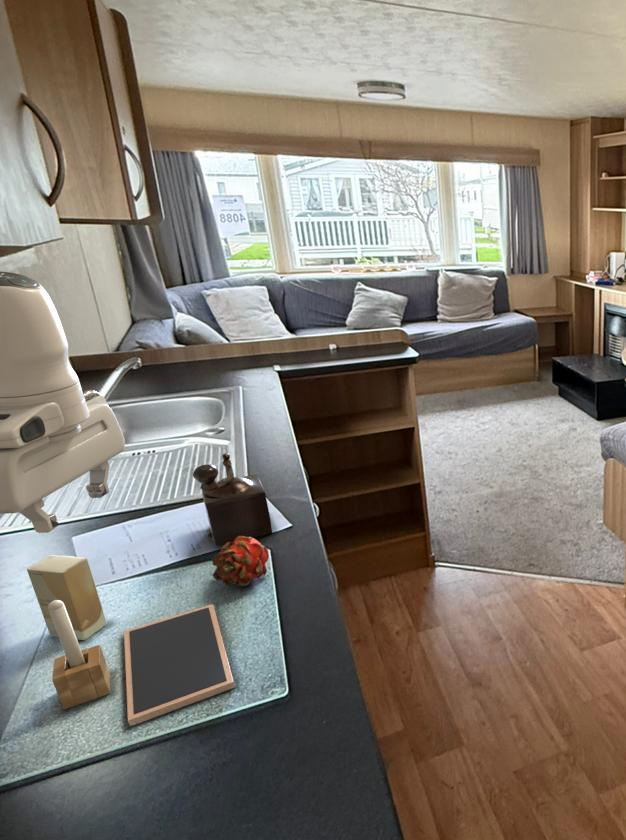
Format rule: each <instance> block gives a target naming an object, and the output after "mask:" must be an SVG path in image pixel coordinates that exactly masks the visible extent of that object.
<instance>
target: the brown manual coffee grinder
mask: <svg viewBox="0 0 626 840" xmlns="http://www.w3.org/2000/svg"><path fill="white" fill-rule="evenodd" d="M221 457H222V460H223V461H222V465H223V466H224V467H225V473H226V477H224V478H221V479H219V480H218V481H216V479H217V477H218V475H219V470H218V468H217V467H216V466H215V465H214V464H208V463H207V464H201V465H199V466H198V467H196V468H194V471H193V472H192V477H193V479H194V480H196V481H197V482H199V483H200V487H199V489H200V490H201V495H202V499H203V504H204V508H205V511H206V516H207V521H208V524H209V530H207V531H206V533H207V536H208V538H210V540H211V541H212V544H213V545H214V546H215V547H216V548H219V547H223V546H224V545H225V544H226V543H227V542H234V541H235V539H236V538H237V537H238V536H245V537H251V538H254V539H255V540H256V539H259V538H262V537H265V536H269V535H271V534H273V527H272V521H271V516H270V515H271V514H270V510H269V504H268V500H267V496H266V495H267V494H266V492H265V488H264V486H263V484H262V481H261V480H260V478H259V477H258V474H251V475H246V476H240V477H239V476H235V475H234V474H235V473H234V470H233V469H234V468H233V466H232V464H233V463H232V460H231V455H230V454H229V453H226V452H225V453H223V454H222V456H221Z"/></svg>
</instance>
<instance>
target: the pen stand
mask: <svg viewBox="0 0 626 840" xmlns="http://www.w3.org/2000/svg"><path fill="white" fill-rule="evenodd" d="M81 651H82V654H83V657H84V660H85V662H86V664H83V665H80V666H77V667H74V668H71V667H70V665H69V662H68V659H67V657H66V654H64V655H61V656H59V657H55V658H54V659H53V669H52V678H51V681H52V684H53V686H54V689H55V691H56V693H57V696H58V699H59V701H60V703H61V705H62V708H63V710H67V709H70V708H74V707H76V706H79V705H82V704H84V703H87V702H88V703H89V702H91V701H93V700H96V699H99V698H102V697H106V696H108V695H110V694H111V672H110V669H109V667H108V664H107V660H106V658H105V655H104V652H103V650H102V646H101V644H97V645H94V646H90V647H88V648H83V649H81Z"/></svg>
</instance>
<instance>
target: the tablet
mask: <svg viewBox="0 0 626 840" xmlns="http://www.w3.org/2000/svg"><path fill="white" fill-rule="evenodd" d="M123 643H124V663H125V665H124V666H125V684H126V707H127V709H126V710H127V722H128V724H129V727H132V726H135V725H139V724H141V723H143V722H146V721H149V720H153V719H155V718H157V717H160V716H162V715H166V714H167V713H170V712H173V711H176V710H178V709H182V708H183V707H187V706H189V705H192V704H194V703H197V702H200V701H202V700H205V699H208V698H210V697H213V696H216V695H218V694H221V693H224V692H227V691H229V690H232V689H234V688H235V687H236V685H235V682H234V678H233V674H232V670H231V667H230V662H229V658H228V656H227V651H226V647H225V644H224V639H223V635H222V632H221V628H220V625H219V621H218V617H217V613H216V609H215V606H214V604H213V603H211V604H208V605H205V606H202V607H199V608H195V609H192V610H188V611H185V612H182V613H179V614H175V615H172V616H169V617H166V618H162V619H159V620H156V621H152V622H149V623H146V624H143V625H139V626H136V627H133V628H130V629H126V630H124V631H123Z"/></svg>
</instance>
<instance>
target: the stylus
mask: <svg viewBox="0 0 626 840" xmlns="http://www.w3.org/2000/svg"><path fill="white" fill-rule="evenodd" d="M48 610H49V612H50V615H51V618H52V620H53V623H54V626H55V628H56V631H57V633H58V636H59V637H58V639H59V641H60V644H61V646H62V649H63V652H64V653H65V654H64V655H66V657H67V659H68V662H69V665H70V667H71V668H74V667H77V666H80V665H83V664H86V662H85V660H84V657H83V654H82V651H81V650H82V649H81V646H80V643H79V641H78V639H77V638H76V635H75V633H74V630H73V627H72V624H71V622H70V619H69V616H68V614H67V611H66V608H65V606H64V603H63V602H62V601H60V600H55V601H52V602H51V603H50V604H49V605H48Z"/></svg>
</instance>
